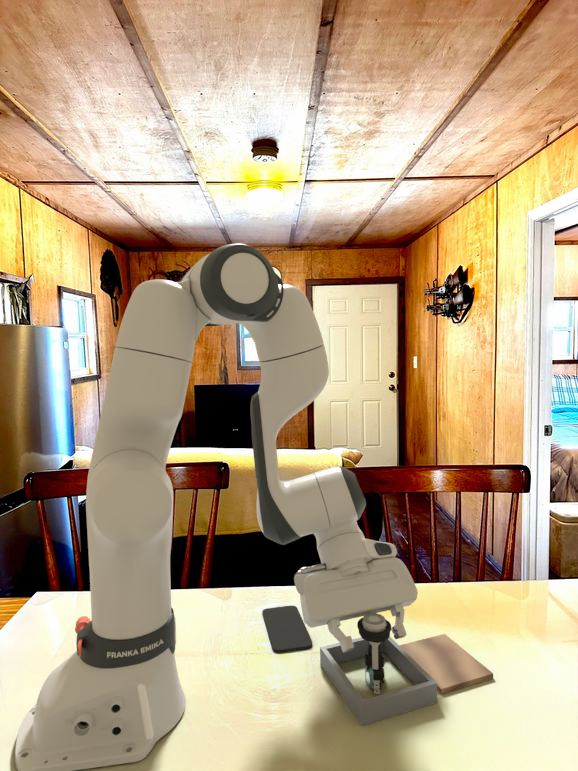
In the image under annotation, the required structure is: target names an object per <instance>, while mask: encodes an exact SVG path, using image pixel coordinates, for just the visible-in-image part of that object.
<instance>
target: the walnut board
mask: <svg viewBox="0 0 578 771" xmlns="http://www.w3.org/2000/svg"><path fill="white" fill-rule="evenodd" d="M398 645H399V646H400V647H401V648H402V649H403V650H404V651H405V652H406V653H407V654H408V655H409V656H410V657H411V658H412V659H413V660H414V661H415V662H416V663H417V664H418V665H419V666H420V667H421V668H422V669H423V670H424V671H425V672H426V673H427V674H428V675H429V676H430V677H431V678H432V679H434V680H435V681H436V682H437V692H438V693H439V694H441V695H442V694H446V693H450V692H452V691H457V690H459V689H462V688H466V687H469V686H472V685H476V684H478V683H479V684H480V683H482V682H486V681H489V680H493V679H494V672H492V671H491V670H490V669H488V668H487V667H486V666H485V665H484V664H482V663H481V661H478V659H476V658H475V657H474V656H473V655H471V654H470V653H469V652H467V651H466V649H465V648H463V647H462V646H460V645H459V644H458V643H457V642H455V641H454V640H453V639H452V638H450V636H448V635H447V634H445V633H443V634H439V635H435V636H431V637H427V638H423V639H419V640H415V641H411V642H407V643H403V644H398Z"/></svg>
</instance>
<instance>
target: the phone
mask: <svg viewBox="0 0 578 771" xmlns="http://www.w3.org/2000/svg"><path fill="white" fill-rule="evenodd" d="M261 614H262V618H263V621H264V625H265V629H266V632H267V635H268V636H267V637H268V640H269V642H270V645H271V650H272V651H273V652H274V653H276V654H282V653H288V652H289V653H291V652H296V651H303V650H308V649H311V648H312V647H313V640H312V637H311V635H310V633H309V631H308V628H307V627H306V625H305V624H306V623H305V622H304V619H303V618H302V617H303V616H301V613H300V611H299V609H298V607H297V606H296V605H291V604H290V605H283V606H276V607H268V608H265V609H263V610H262V612H261Z"/></svg>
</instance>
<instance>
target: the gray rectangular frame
mask: <svg viewBox="0 0 578 771" xmlns="http://www.w3.org/2000/svg"><path fill="white" fill-rule="evenodd" d="M352 642H353V644H354V649H352V650H351V651H348V652H344V653H343V651H342V649H341V645H340V642H337V643H333V644H329V645H325V646H320V647H319V657H320V659H319V664H320V666H321V668H322V670H324V671H323V672H325V674H326V675H327V676H328V678H329V679H330V681H331V682H332V684H333V686H334V687H335V688H336V690H337V691H338V693H339V694H340V695H341V697H342V698H343V700H344V701H345V703H346V704H347V706H348V708H349V709H350V710H351V712H352V713H353V715H354V716H355V718H356V719H357V721H358V722H359V724H360V725H361V726H362V727H363V726H366V725H369V724H372V723H373V724H374V723H376V722H379V721H383V720H385V719H389V718H392V717H395V716H398V715H399V716H400V715H402V714H404V713H405V714H406V713H409V712H411V711H414V710H418V709H421V708H425V707H428V706H431V705H435V704H437V703H438V690H437V682H436V681H435V680H434V679H432V678H431V677H430V676H429V675H428V674H427V673H426V672H425V671H424V670H423V669H422V668H421V667H420V666H419V665H418V664H417V663H416V662H415V661H414V660H413V659H412V658H411V657H410V656H409V655H408V654H407V653H406V652H405V651H404V650H403V649H402V648H401V647H400V646H399V645H400V644H399V643H397V641H396V640H395V639H394V638H392V637H391V636H390V637H389V638H388V639H387V640H385V641H384V642H381V643H380V644H381V653H385V655H386V656H387V657H388V658H389V659H390V660H391V661H392V662H393V663H394V664H395V666H397V667H398V668H399V670H400V671H401V672H402V673H403V674H404V675H405V676H406V677H407V678H408V679H409V680H410V682H411V683H413V685H411V686H408V687H404V688H400V689H398V690H394V691H390V692H387V693H384V694H380V695H379V694H378V695H375V696H373V697H370V698H367V699H364V698H363V696H362V695H361V694H360V692H359V691H358V689H357V688H356V687H355V686H354V684H353V683H352V681H351V680H350V679H349V677H348V676H347V675H346V673H345V672H344V671H343V669H342V668H341V667H340V665H339V664H341V663H345V662H349V661H352V660H357V659H361V658H365V655H366V654H368V641H366V640H364V639H362V637H361V636H360V637H356V638H352Z"/></svg>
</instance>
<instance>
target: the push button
mask: <svg viewBox="0 0 578 771" xmlns="http://www.w3.org/2000/svg"><path fill="white" fill-rule="evenodd" d="M356 628H357V630H358V634H359V635H360V638H361V637H362V639H364V640H366V641H368V654H366V655H365V657H364V664H365V666H366V667H365V669H364V672H365V674H364V676H365V680H367V673H368V675H369V676H368V678H369V686H370V687H369V688H370V689H373V691H374V694H375V695H379V694H380V693H381V692H380V690H382V684H384V682H385V681H386V678H385V668H384V667H385V656H384V655H383V654H382V652H381V644H380V643H381V642H384V641H385V640H387V639H388V638H389V637H391V632H392V630H391V628H392V624H391V622H390V621H389V620H387V619H386V618H385V616H384V615H382V614H380V613H369V614H366V615H364V616H362V617H360V619H358V621H357V626H356ZM380 695H381V694H380Z"/></svg>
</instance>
